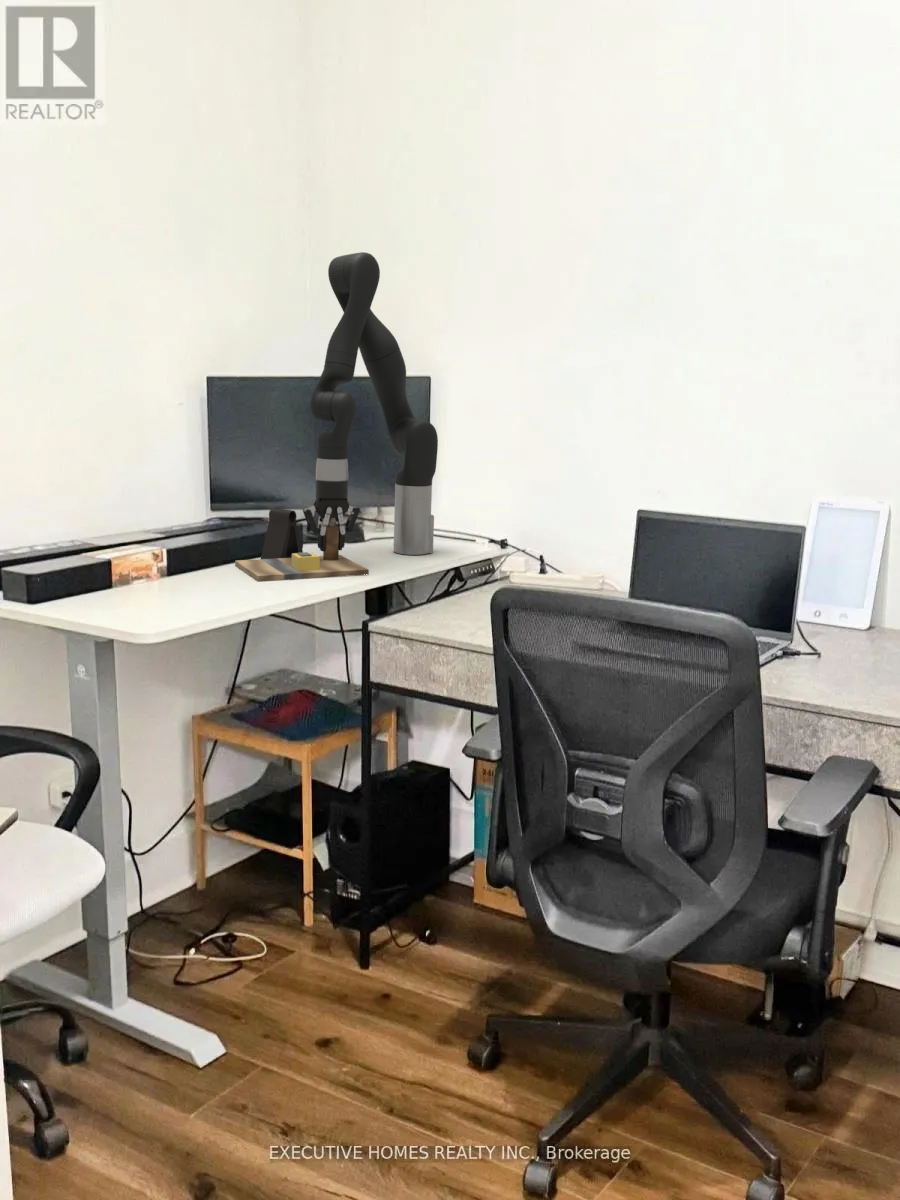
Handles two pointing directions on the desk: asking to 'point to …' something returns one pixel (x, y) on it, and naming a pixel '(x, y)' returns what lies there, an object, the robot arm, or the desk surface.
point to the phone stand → (281, 535)
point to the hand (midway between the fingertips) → (330, 549)
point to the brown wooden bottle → (332, 541)
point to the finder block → (305, 561)
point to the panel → (285, 571)
